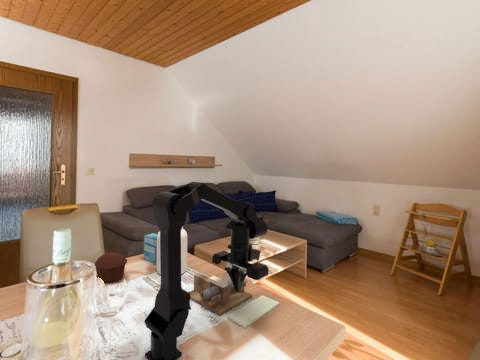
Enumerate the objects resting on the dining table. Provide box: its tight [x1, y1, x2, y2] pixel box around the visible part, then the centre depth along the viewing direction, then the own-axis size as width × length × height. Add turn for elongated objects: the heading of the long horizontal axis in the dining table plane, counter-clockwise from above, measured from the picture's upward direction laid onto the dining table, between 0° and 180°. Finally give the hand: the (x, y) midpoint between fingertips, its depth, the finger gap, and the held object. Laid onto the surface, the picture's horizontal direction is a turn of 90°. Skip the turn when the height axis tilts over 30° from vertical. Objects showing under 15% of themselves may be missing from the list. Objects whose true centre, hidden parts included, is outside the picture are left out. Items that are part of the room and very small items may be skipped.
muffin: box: [94, 251, 128, 285], centre depth 104 cm, size 12×11×10 cm
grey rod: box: [203, 277, 234, 300], centre depth 92 cm, size 3×18×3 cm, turn 139°
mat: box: [227, 294, 280, 329], centre depth 86 cm, size 7×18×1 cm, turn 139°
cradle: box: [187, 272, 253, 317], centre depth 93 cm, size 17×16×6 cm
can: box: [156, 226, 188, 276], centre depth 113 cm, size 12×12×20 cm
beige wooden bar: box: [209, 274, 229, 288], centre depth 89 cm, size 7×2×3 cm, turn 49°
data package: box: [143, 232, 158, 265], centre depth 123 cm, size 12×4×12 cm, turn 58°
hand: (238, 290), depth 83 cm, fingers closed
